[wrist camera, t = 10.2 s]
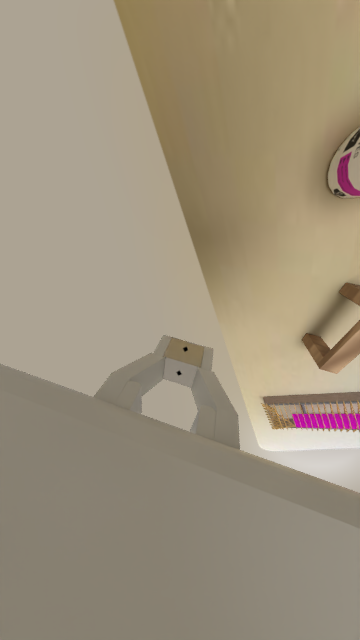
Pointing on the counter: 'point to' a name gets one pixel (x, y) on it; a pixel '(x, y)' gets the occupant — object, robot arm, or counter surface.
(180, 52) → the counter surface
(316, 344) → the bridge
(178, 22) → the counter surface
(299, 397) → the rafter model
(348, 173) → the supplement can
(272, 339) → the counter surface
